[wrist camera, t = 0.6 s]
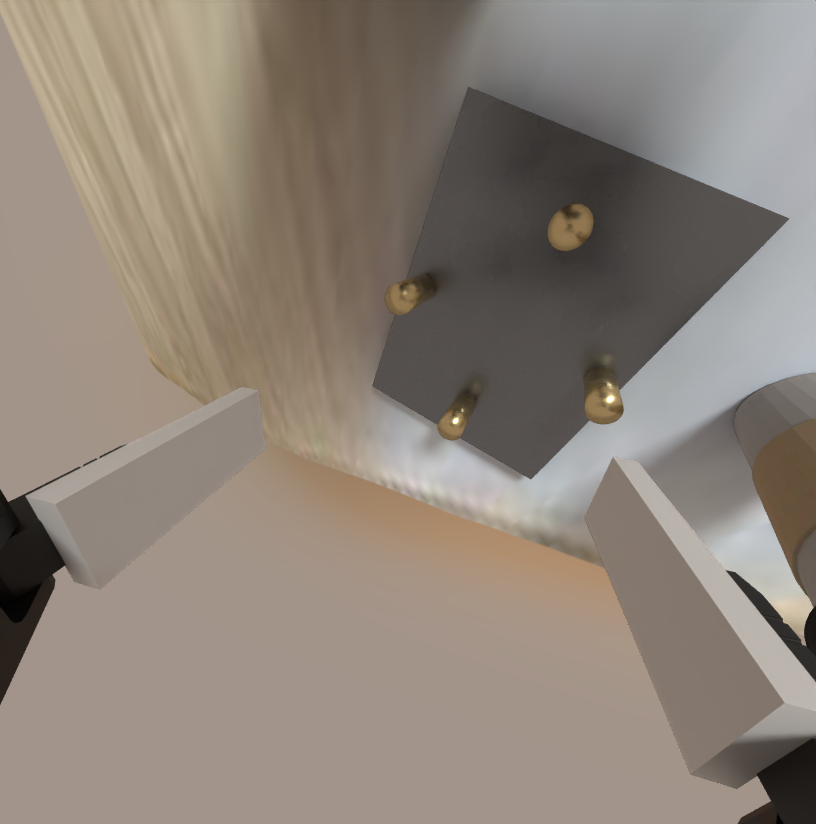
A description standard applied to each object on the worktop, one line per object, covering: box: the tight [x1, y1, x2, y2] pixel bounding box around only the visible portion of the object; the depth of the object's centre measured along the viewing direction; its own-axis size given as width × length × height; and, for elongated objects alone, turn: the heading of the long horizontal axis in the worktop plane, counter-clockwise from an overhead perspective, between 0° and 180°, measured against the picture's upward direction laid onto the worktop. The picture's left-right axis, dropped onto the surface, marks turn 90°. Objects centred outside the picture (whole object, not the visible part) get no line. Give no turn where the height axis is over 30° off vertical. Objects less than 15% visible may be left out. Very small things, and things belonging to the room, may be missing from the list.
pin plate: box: [372, 87, 789, 479], centre depth 20 cm, size 20×16×6 cm
